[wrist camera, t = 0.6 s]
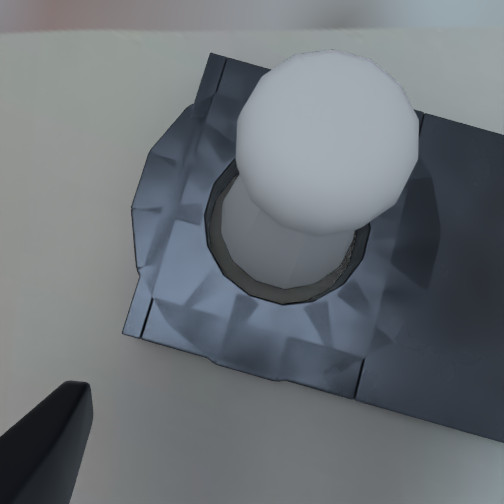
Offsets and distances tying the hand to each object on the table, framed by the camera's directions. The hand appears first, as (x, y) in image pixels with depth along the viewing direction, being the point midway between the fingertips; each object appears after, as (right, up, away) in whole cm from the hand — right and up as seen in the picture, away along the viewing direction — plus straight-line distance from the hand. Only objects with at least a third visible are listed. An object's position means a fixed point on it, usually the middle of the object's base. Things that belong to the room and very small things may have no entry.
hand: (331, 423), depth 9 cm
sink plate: (+6, +2, +14) cm, 16 cm away
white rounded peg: (0, +4, +15) cm, 15 cm away
